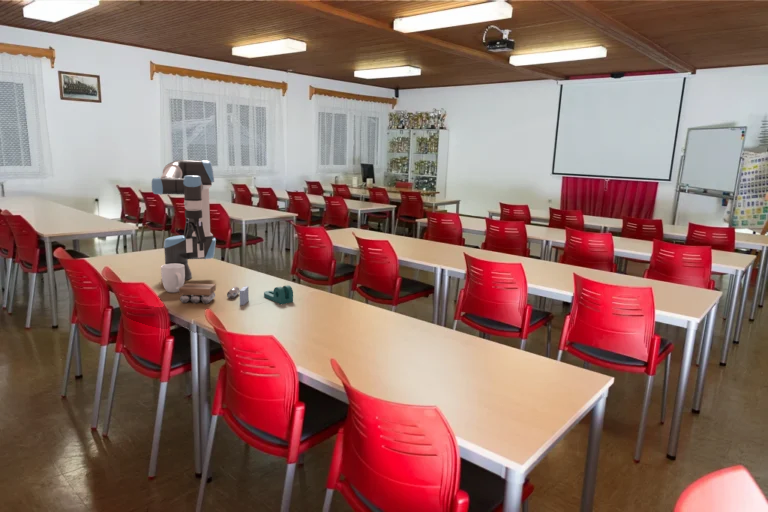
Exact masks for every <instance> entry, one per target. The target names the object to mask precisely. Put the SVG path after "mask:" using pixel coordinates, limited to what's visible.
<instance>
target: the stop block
mask: <svg viewBox="0 0 768 512" xmlns="http://www.w3.org/2000/svg"><path fill="white" fill-rule="evenodd" d="M239 290H240V292H239V306H245V305H246V304H247V303H248V302H249V286H248V285H247V286H246V285H245V286H243V287H241V289H239Z"/></svg>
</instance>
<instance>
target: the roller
mask: <svg viewBox="0 0 768 512" xmlns="http://www.w3.org/2000/svg"><path fill="white" fill-rule="evenodd" d="M240 290H241V289H240V288H239V286H233V287H231V289H229V291H227V293H226V297H227V298H228V299H232V300H233V299H235V298H236V296H238V295H239V294H240Z"/></svg>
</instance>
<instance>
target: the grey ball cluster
mask: <svg viewBox="0 0 768 512" xmlns="http://www.w3.org/2000/svg"><path fill="white" fill-rule="evenodd" d="M215 297H216V293H215V291H214V292H213V293H212V294H211V295H181V296H180V298H179V301H180V302H181V303H182V304H186V303H189V301H190V302H191V304H192V303H193V304H198V303H200V302H202V303H203V304H204V305H207V304H209V303H210V302H212V301H213V300H214V299H215Z"/></svg>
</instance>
